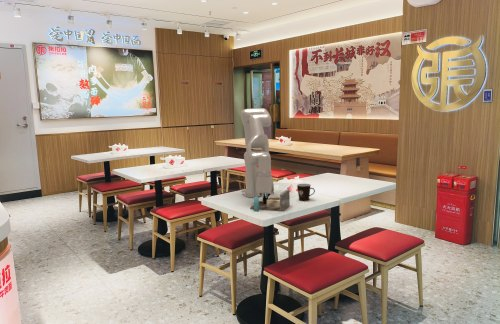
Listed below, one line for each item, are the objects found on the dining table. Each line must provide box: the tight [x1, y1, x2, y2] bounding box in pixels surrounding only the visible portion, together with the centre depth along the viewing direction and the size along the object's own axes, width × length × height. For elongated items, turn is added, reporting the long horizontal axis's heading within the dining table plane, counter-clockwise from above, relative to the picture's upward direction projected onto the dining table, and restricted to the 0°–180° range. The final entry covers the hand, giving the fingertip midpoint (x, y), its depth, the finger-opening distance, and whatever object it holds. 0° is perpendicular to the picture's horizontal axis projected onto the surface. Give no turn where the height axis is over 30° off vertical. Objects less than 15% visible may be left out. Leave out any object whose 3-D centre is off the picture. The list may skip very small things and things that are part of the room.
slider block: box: [267, 196, 280, 208], centre depth 229 cm, size 9×9×4 cm
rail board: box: [249, 189, 291, 212], centre depth 231 cm, size 21×13×10 cm, turn 68°
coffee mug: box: [296, 183, 316, 202], centre depth 245 cm, size 12×9×10 cm
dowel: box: [253, 197, 260, 212], centre depth 225 cm, size 3×3×8 cm
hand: (265, 203), depth 232 cm, fingers closed
